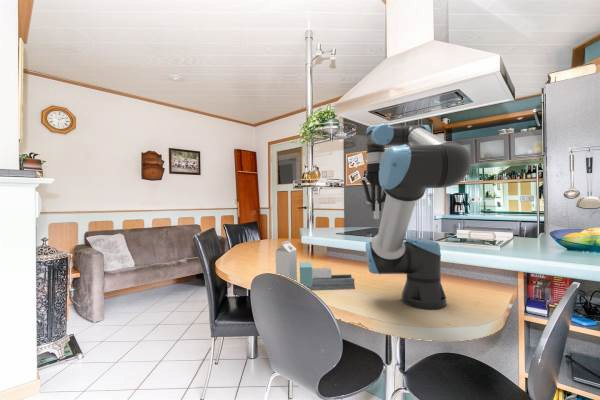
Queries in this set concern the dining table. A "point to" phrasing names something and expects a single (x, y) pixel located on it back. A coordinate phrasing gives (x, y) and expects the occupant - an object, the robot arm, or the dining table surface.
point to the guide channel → (334, 283)
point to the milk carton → (286, 260)
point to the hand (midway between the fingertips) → (376, 218)
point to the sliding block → (321, 273)
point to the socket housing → (306, 274)
